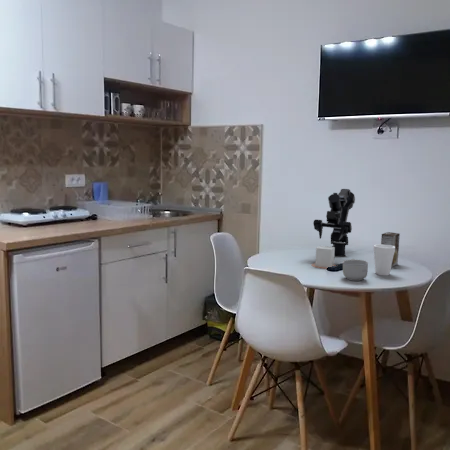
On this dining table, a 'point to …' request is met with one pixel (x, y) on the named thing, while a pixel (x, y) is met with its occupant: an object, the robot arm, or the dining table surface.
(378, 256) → the foam cup
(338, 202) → the robot arm
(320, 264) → the white block
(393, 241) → the coffee box
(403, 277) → the dining table surface
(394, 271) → the dining table surface
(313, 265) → the plate
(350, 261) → the teacup
